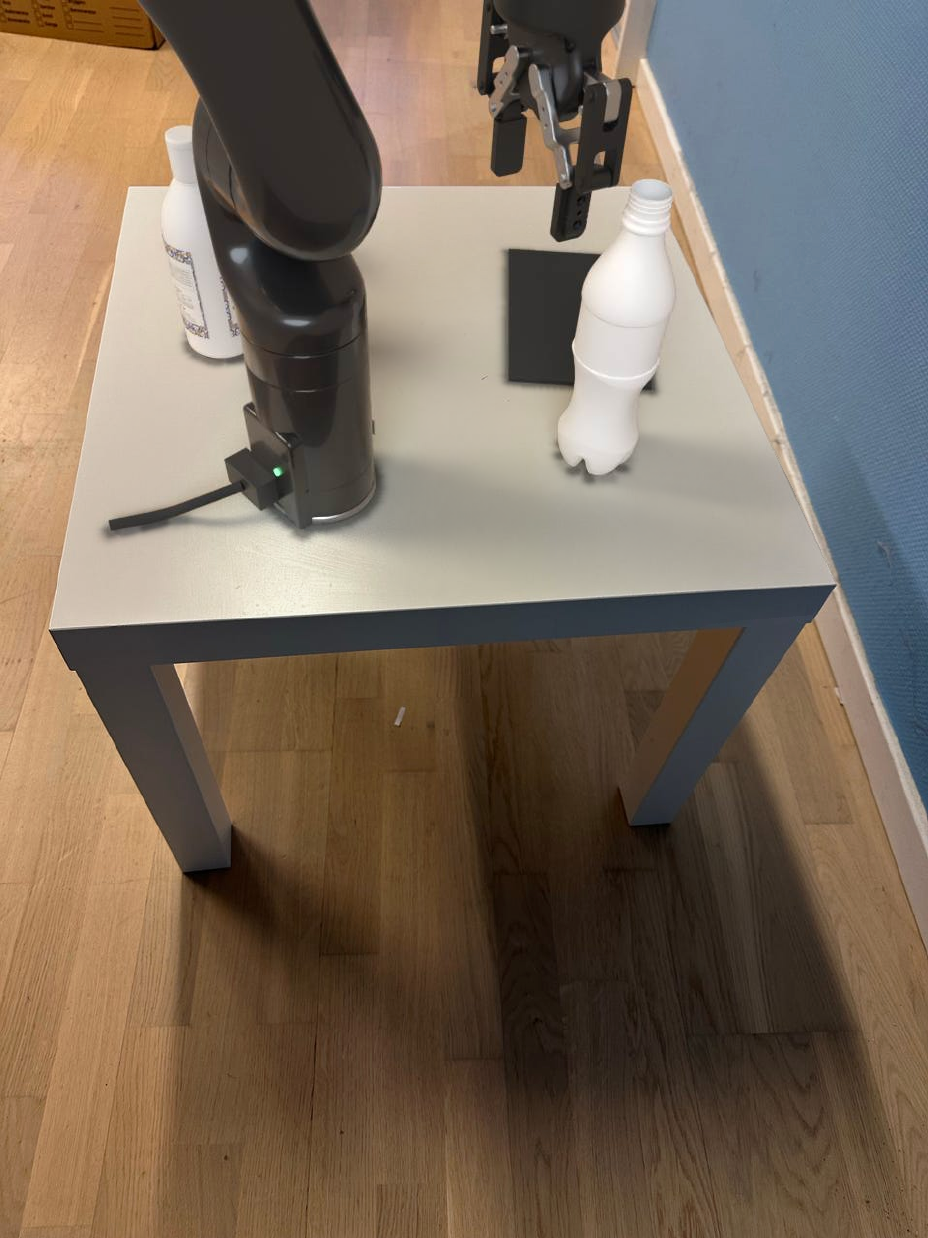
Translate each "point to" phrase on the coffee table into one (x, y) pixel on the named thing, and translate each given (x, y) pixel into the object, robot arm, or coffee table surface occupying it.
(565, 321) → the mat
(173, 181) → the bath foam
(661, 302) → the water bottle
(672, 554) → the coffee table surface
